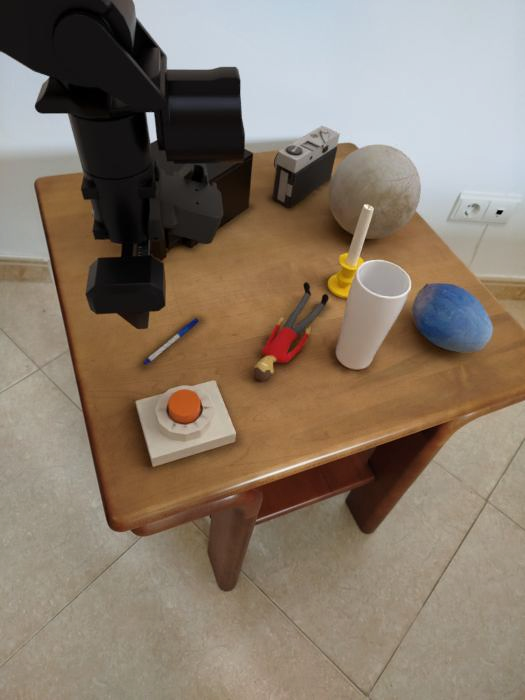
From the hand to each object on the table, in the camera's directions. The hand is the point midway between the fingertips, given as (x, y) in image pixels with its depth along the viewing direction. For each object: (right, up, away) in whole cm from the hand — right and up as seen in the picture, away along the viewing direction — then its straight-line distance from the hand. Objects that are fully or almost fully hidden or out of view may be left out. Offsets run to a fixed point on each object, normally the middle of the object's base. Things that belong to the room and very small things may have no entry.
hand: (144, 295), depth 52 cm
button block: (+3, -15, +7) cm, 17 cm away
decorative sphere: (+31, +16, +36) cm, 50 cm away
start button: (+4, -13, +4) cm, 14 cm away
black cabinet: (0, +19, +34) cm, 39 cm away
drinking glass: (+25, -7, +17) cm, 31 cm away
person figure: (+16, -4, +18) cm, 24 cm away
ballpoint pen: (0, -5, +16) cm, 16 cm away
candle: (+26, +4, +26) cm, 36 cm away
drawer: (-5, +14, +29) cm, 32 cm away
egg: (+38, -3, +21) cm, 44 cm away
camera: (+19, +26, +42) cm, 53 cm away
